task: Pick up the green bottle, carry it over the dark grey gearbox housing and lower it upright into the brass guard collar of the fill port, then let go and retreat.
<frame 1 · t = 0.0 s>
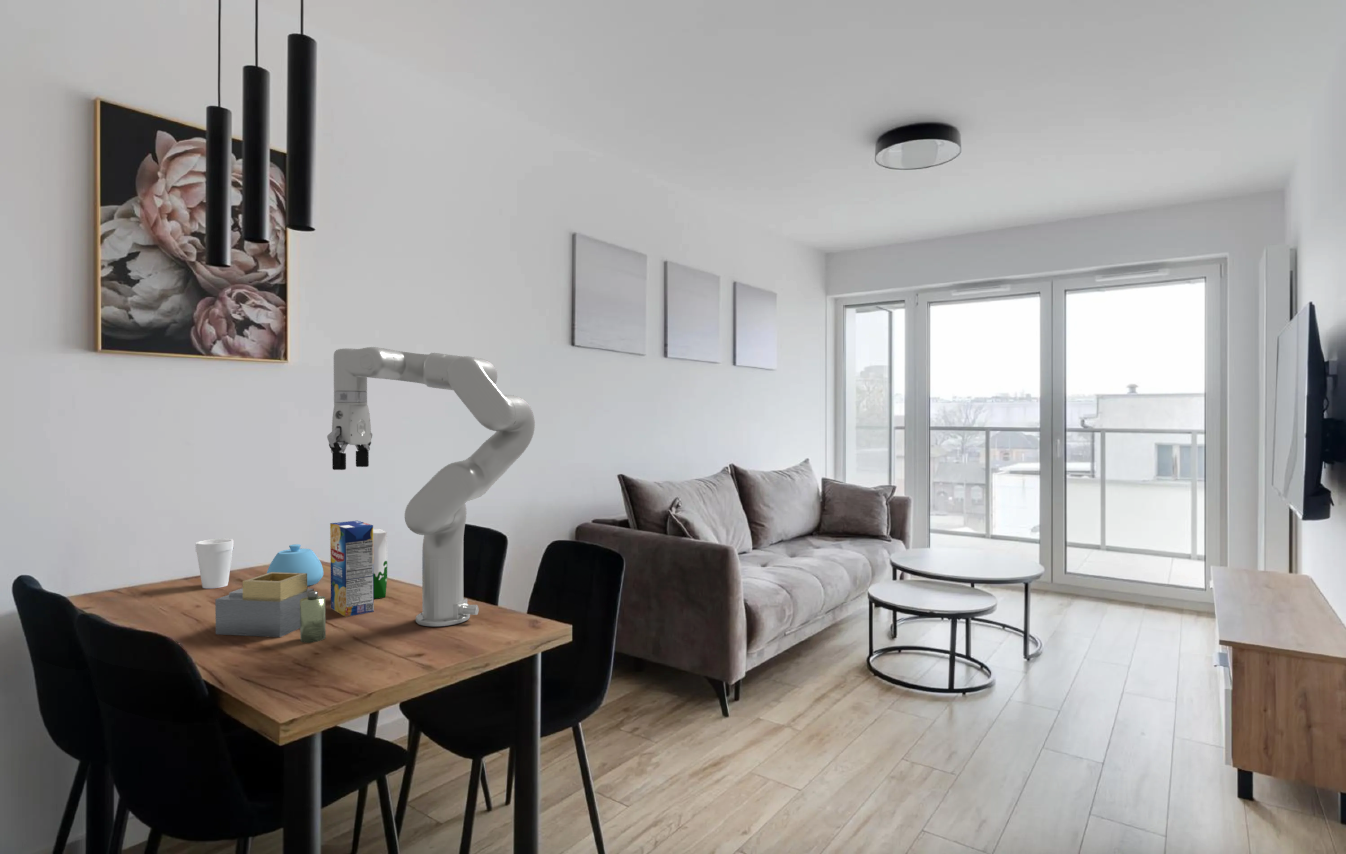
hand: (351, 468, 176), 37 cm above the table, tool pointing down, fingers open, 9 cm apart
milk carton: (369, 597, 195), on the table
beverage box: (352, 610, 182), on the table
green bottle: (313, 638, 158), on the table
sugar bowl: (295, 584, 210), on the table
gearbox: (266, 627, 167), on the table
foam cup: (215, 586, 207), on the table
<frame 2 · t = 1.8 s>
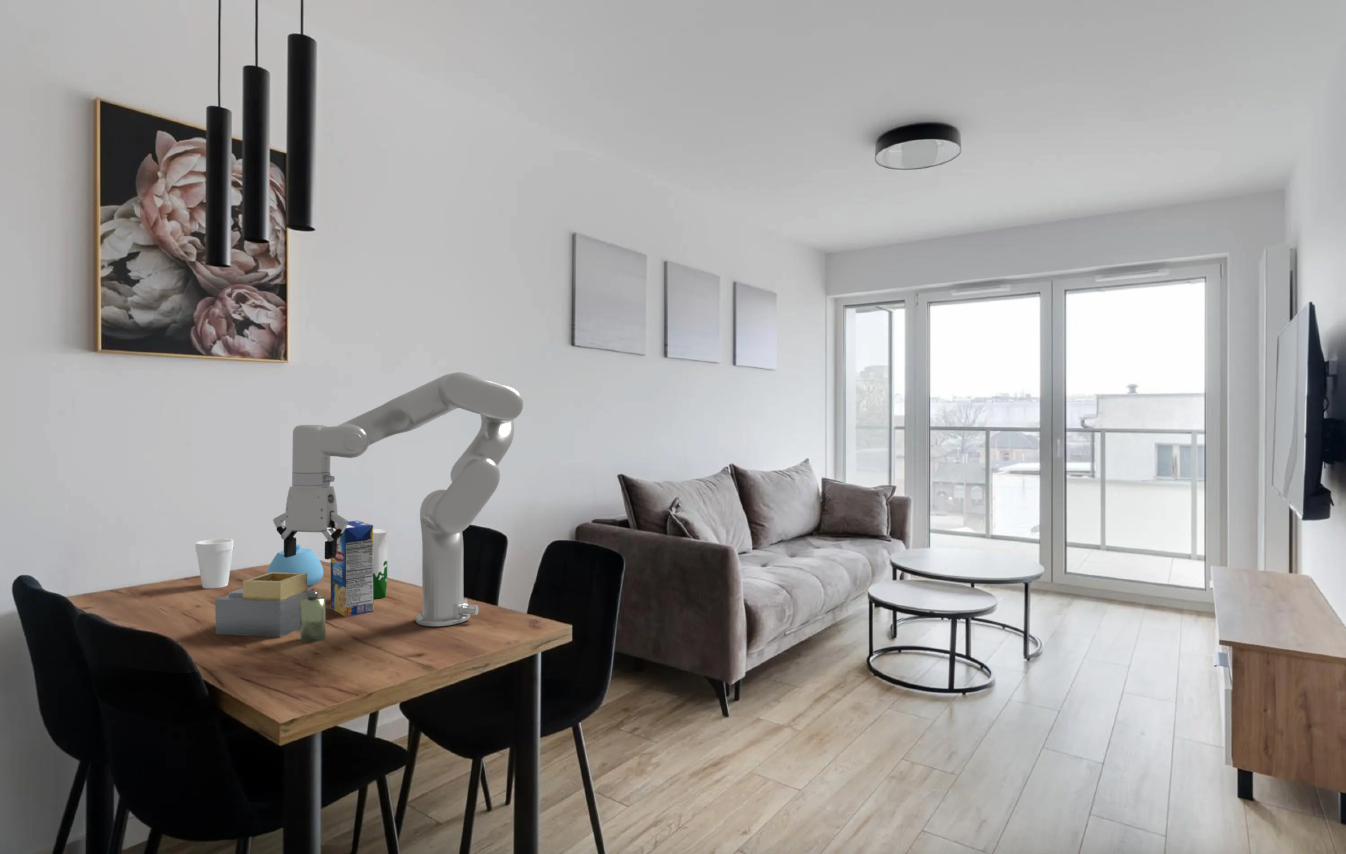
hand: (310, 557, 158), 18 cm above the table, tool pointing down, fingers open, 9 cm apart
nothing on the table moved.
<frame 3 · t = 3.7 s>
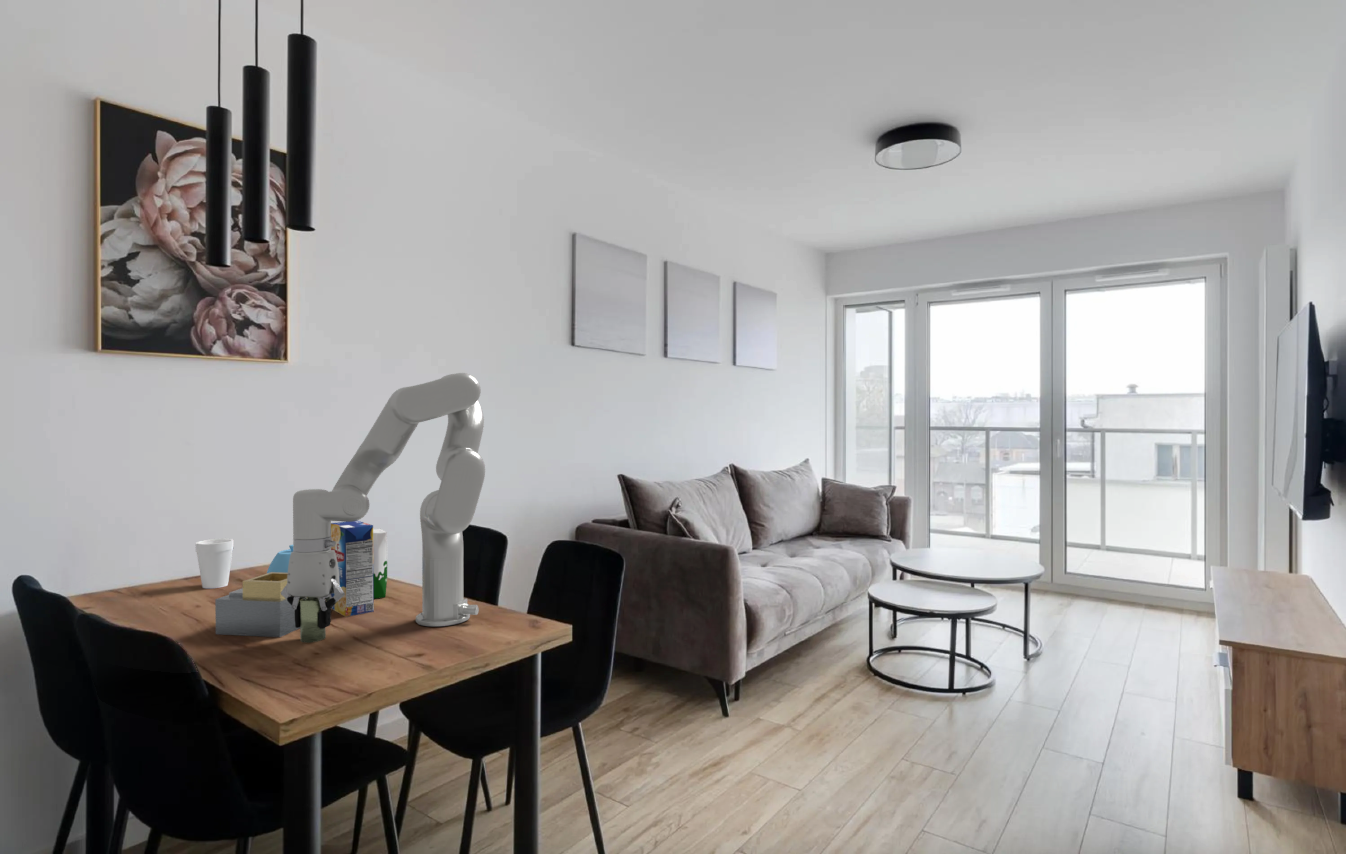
hand: (312, 625, 158), 3 cm above the table, tool pointing down, fingers closed on green bottle, 5 cm apart
green bottle: (313, 638, 158), on the table, touching gripper
everything else where it was.
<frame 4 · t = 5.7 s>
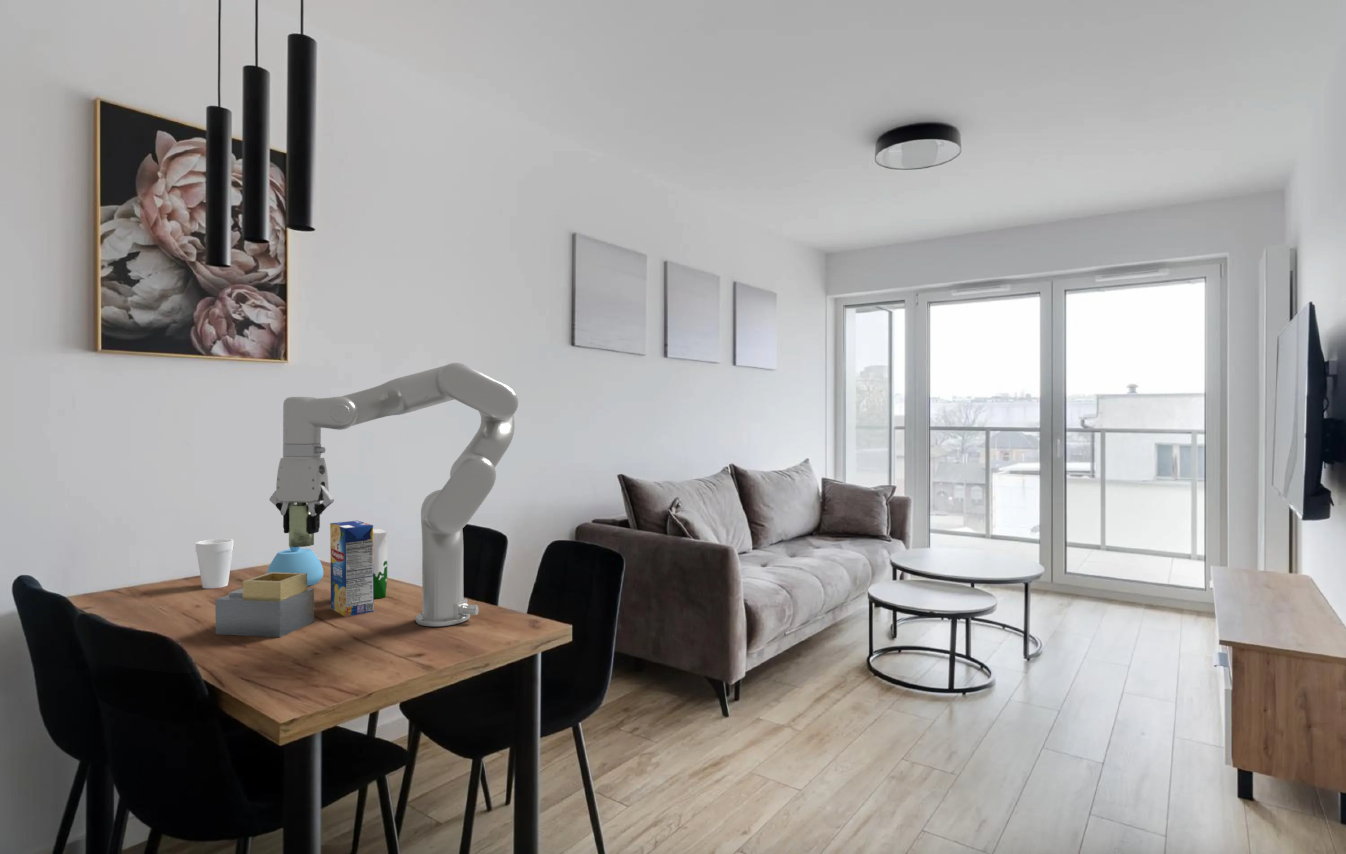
hand: (301, 531, 160), 24 cm above the table, tool pointing down, fingers closed on green bottle, 5 cm apart
green bottle: (301, 545, 160), point 21 cm above the table, touching gripper
everything else where it was.
when the fingers open (13 cm above the table, at t = 8.1 s): green bottle drops 2 cm, resting on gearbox.
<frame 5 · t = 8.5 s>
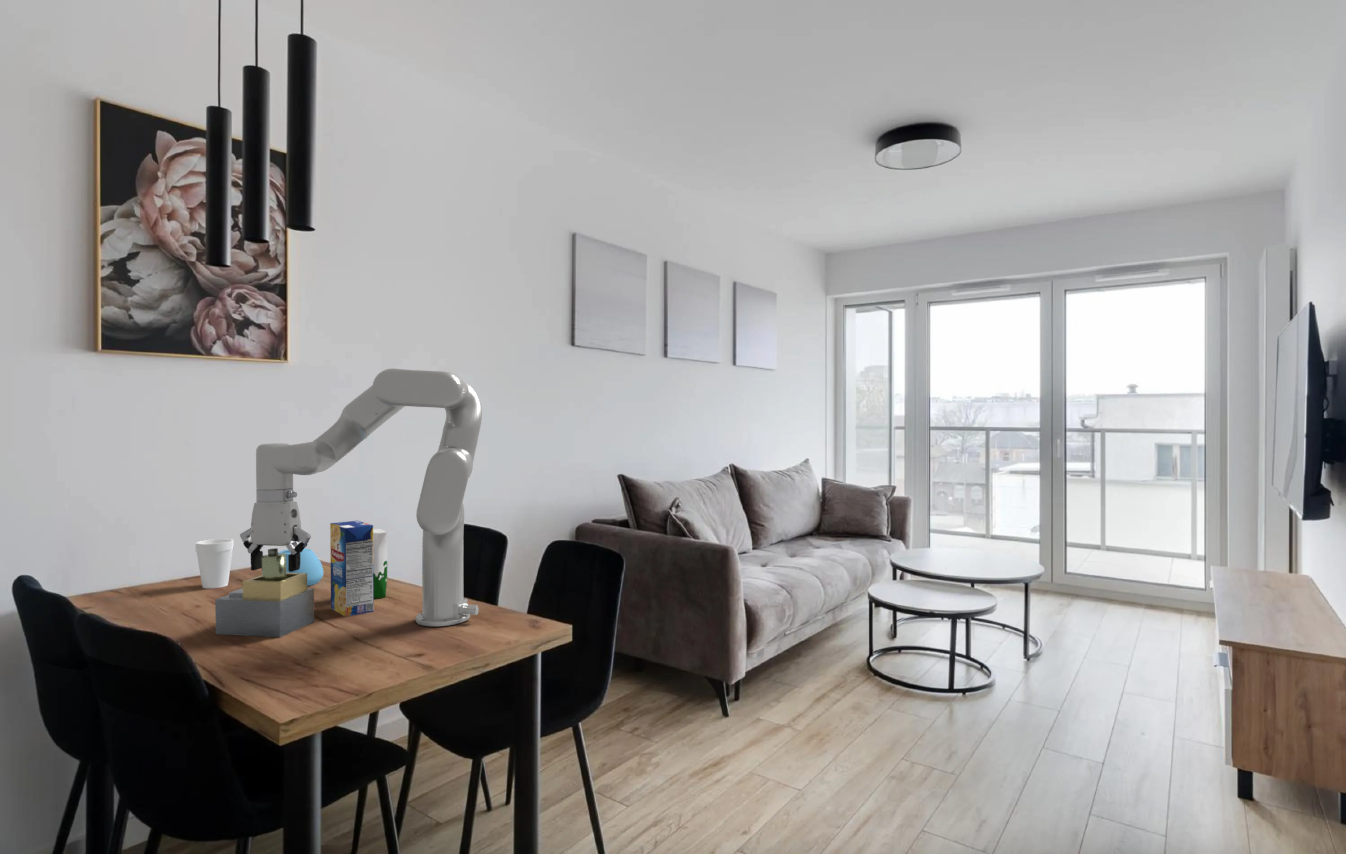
hand: (275, 569, 166), 14 cm above the table, tool pointing down, fingers open, 9 cm apart
green bottle: (275, 593, 166), point 8 cm above the table, touching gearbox
everything else where it was.
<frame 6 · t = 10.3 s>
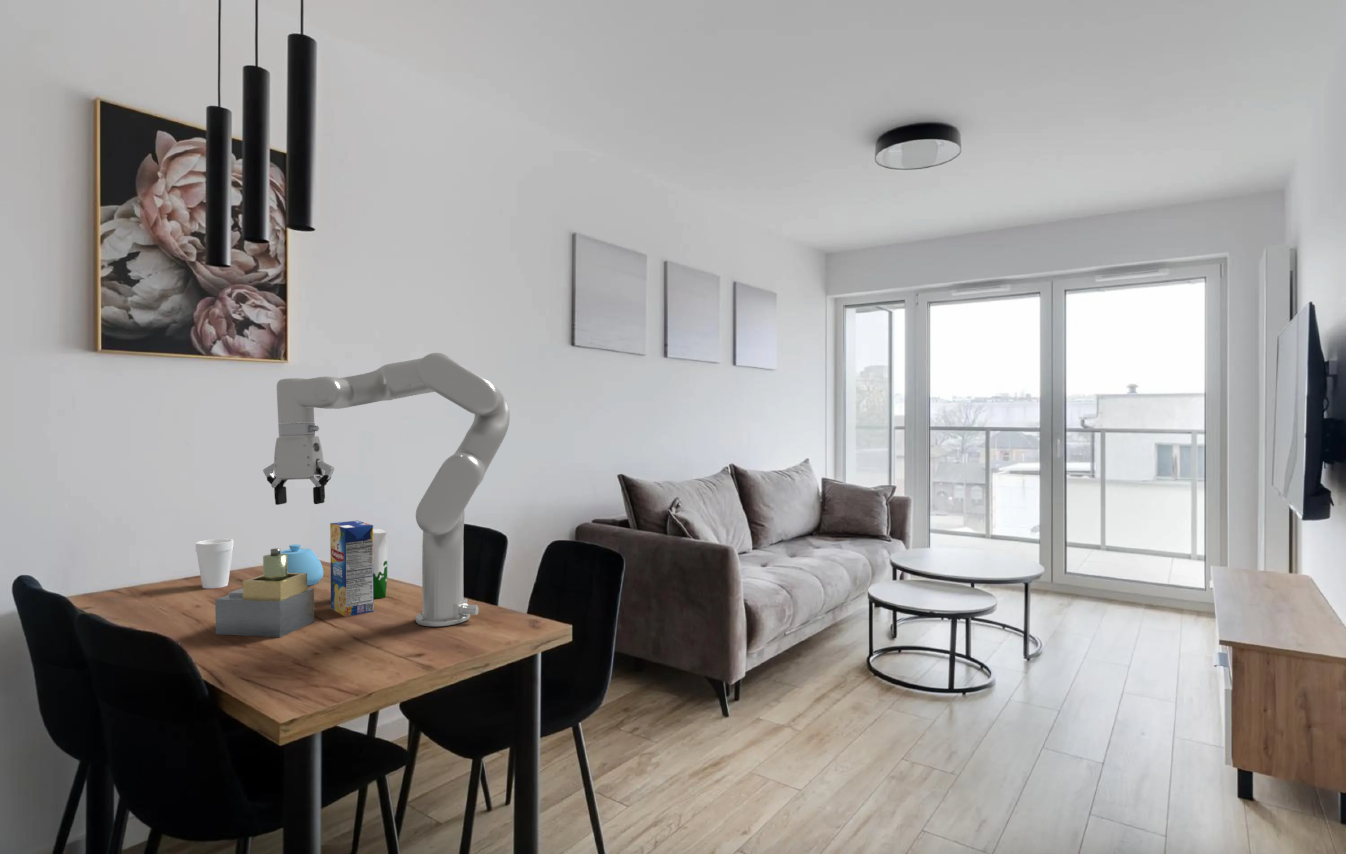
hand: (300, 503, 167), 29 cm above the table, tool pointing down, fingers open, 9 cm apart
nothing on the table moved.
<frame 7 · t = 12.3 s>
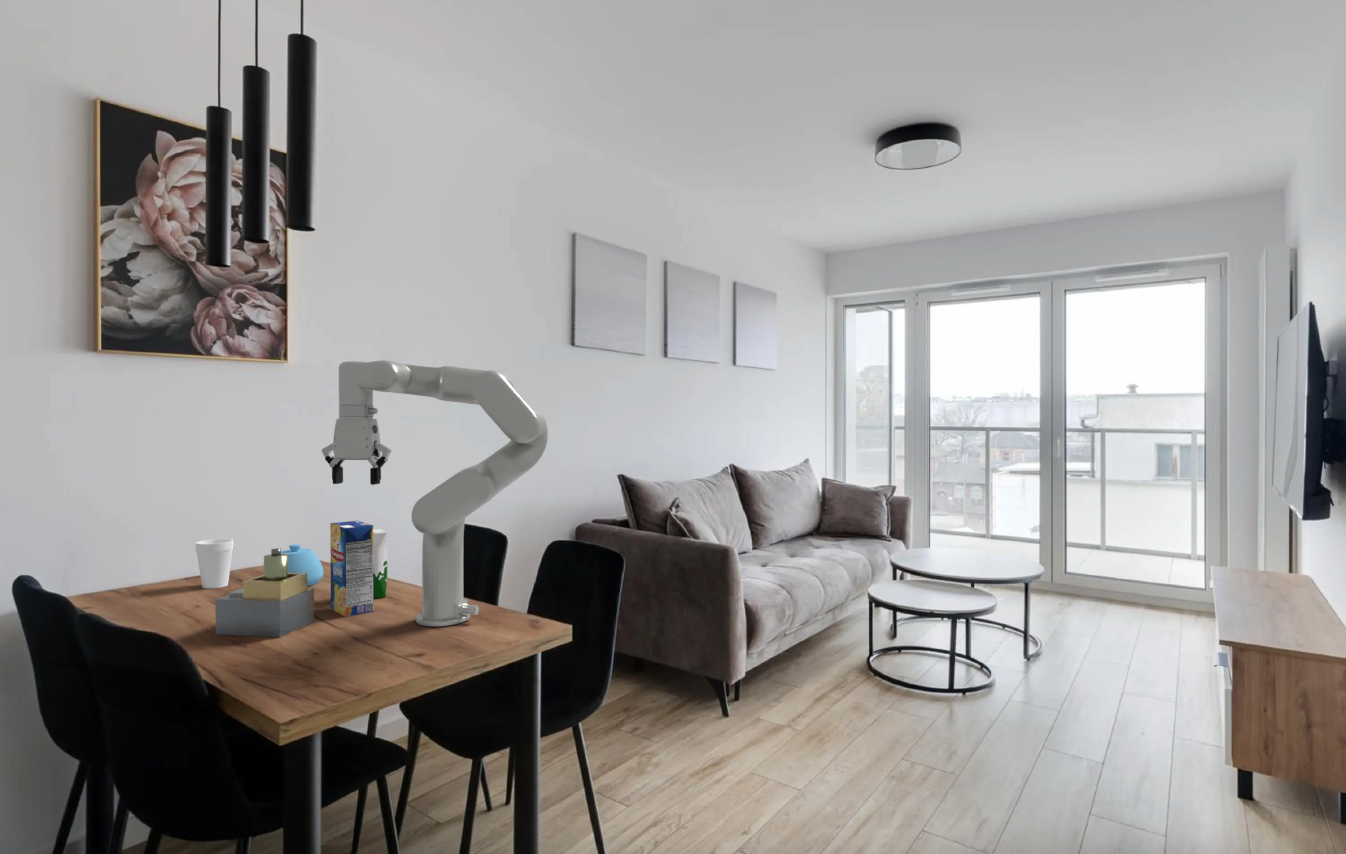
hand: (356, 483, 171), 33 cm above the table, tool pointing down, fingers open, 9 cm apart
nothing on the table moved.
at the end: green bottle 0.0 cm from the target spot on the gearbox, point 8.0 cm above the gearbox's base; green bottle tilted 1°; the gripper is holding nothing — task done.
